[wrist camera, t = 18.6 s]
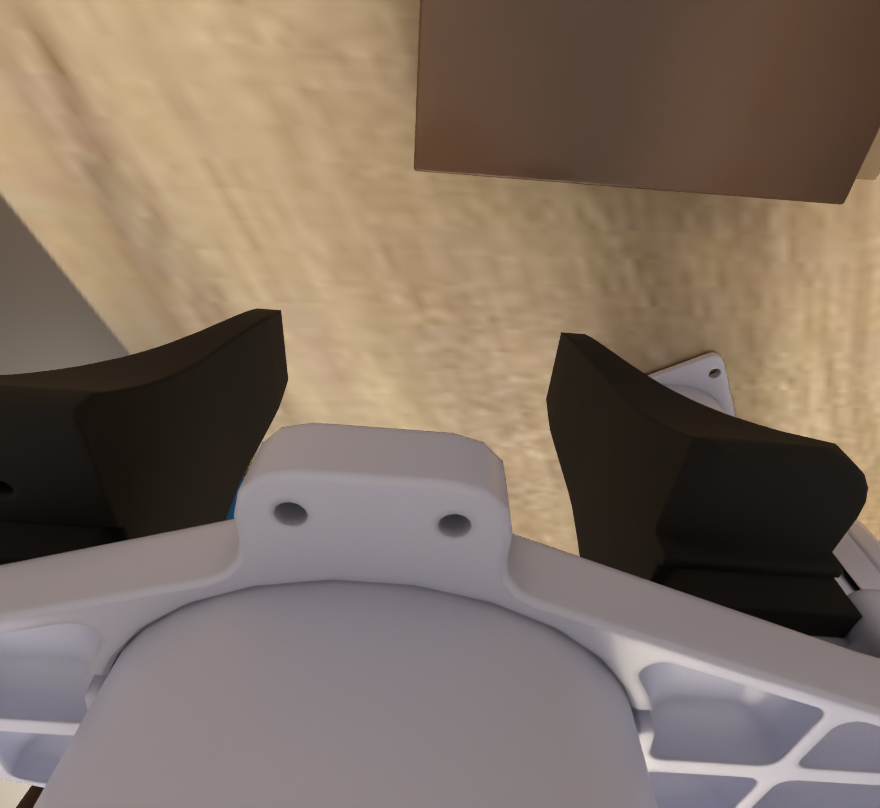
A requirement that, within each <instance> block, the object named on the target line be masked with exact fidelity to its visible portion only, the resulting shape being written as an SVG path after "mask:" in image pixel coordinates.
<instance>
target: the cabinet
mask: <svg viewBox="0 0 880 808" xmlns="http://www.w3.org/2000/svg"><path fill="white" fill-rule="evenodd" d="M879 129H880V0H420V18H419V45H418V72H417V99H416V125H415V152H414V170H416V171H424V172H437V173H449V174H462V175H474V176H487V177H500V178H512V179H525V180H538V181H550V182H563V183H576V184H588V185H601V186H614V187H626V188H639V189H651V190H664V191H677V192H689V193H702V194H715V195H727V196H740V197H753V198H765V199H778V200H790V201H803V202H816V203H828V204H843V203H844V202H845V200H846V198H847V196H848V194H849V192H850V190H851V187H852V185H853V183H854V181H855V179H856V177H857V175H858V173H859V171H860V168H861V166H862V164H863V162H864V160H865V158H866V156H867V154H868V152H869V150H870V147H871V145H872V143H873V141H874V139H875V137H876V135H877V133H878V131H879Z"/></svg>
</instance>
